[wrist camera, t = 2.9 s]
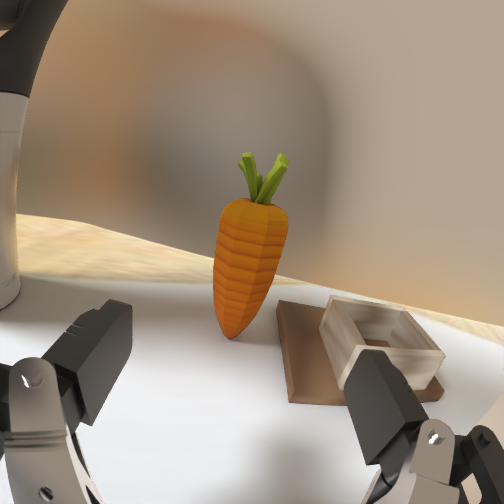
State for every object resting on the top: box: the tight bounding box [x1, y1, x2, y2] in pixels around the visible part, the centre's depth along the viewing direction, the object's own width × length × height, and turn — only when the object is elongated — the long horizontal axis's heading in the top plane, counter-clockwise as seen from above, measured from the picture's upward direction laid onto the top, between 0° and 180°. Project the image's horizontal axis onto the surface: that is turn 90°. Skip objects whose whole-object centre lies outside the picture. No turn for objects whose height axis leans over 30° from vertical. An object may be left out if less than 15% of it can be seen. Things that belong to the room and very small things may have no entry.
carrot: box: [213, 152, 289, 339], centre depth 20 cm, size 5×5×15 cm
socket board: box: [276, 295, 446, 405], centre depth 23 cm, size 14×13×5 cm
